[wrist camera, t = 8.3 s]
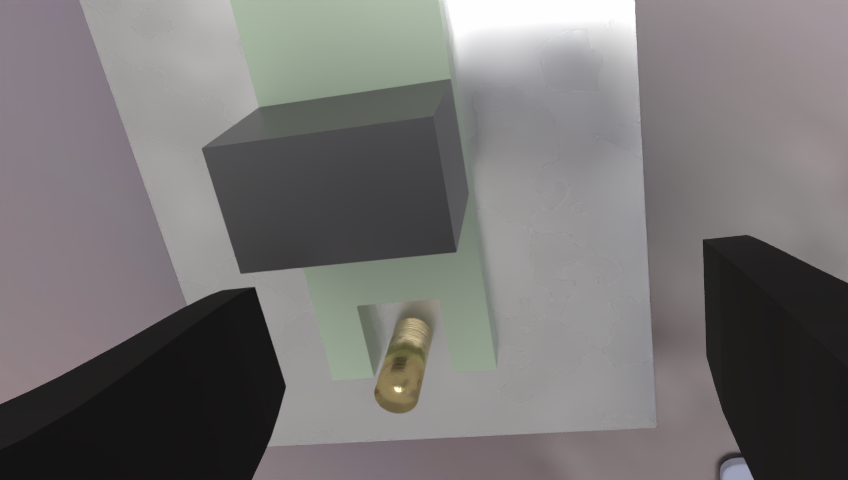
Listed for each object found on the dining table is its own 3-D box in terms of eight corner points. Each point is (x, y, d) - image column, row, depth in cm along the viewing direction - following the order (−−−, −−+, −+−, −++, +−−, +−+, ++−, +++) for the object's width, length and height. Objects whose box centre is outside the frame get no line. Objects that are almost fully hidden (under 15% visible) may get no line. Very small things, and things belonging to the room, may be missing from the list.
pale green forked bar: (498, 350, 21) (490, 453, 17) (341, 361, 22) (298, 461, 18) (416, -175, 16) (378, -206, 12) (212, -129, 17) (110, -143, 13)
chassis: (651, 407, 23) (675, 501, 19) (248, 428, 25) (201, 514, 22) (608, -367, 15) (635, -459, 11) (28, -215, 17) (-102, -248, 14)
